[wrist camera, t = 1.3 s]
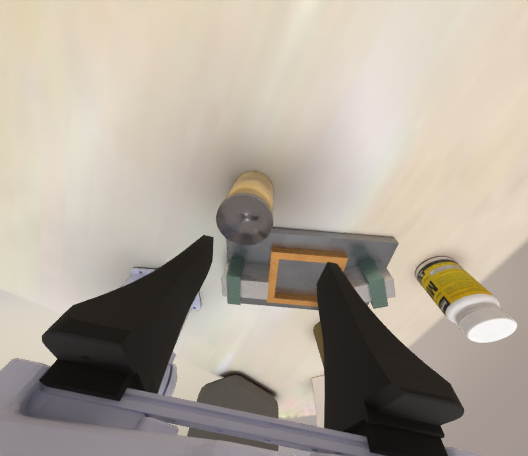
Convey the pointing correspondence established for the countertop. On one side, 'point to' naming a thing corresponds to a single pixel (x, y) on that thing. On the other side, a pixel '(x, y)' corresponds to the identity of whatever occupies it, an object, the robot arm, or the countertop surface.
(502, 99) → the countertop surface
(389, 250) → the bench plate
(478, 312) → the supplement bottle
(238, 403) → the dark grey rounded block
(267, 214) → the tan and grey cylinder
